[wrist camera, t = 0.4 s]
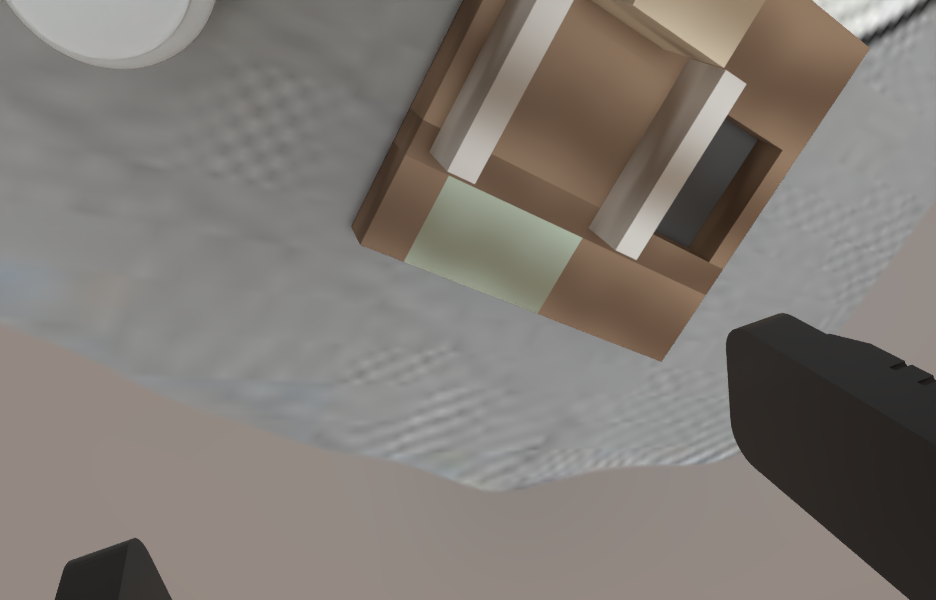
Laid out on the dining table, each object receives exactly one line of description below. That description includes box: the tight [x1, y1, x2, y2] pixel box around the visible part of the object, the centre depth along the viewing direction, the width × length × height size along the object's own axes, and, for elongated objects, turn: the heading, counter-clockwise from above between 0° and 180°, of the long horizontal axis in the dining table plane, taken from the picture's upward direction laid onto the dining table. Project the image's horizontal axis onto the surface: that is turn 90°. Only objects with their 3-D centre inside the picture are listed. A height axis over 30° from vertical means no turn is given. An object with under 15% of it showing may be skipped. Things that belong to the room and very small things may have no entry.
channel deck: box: [352, 0, 870, 362], centre depth 31 cm, size 17×17×4 cm
